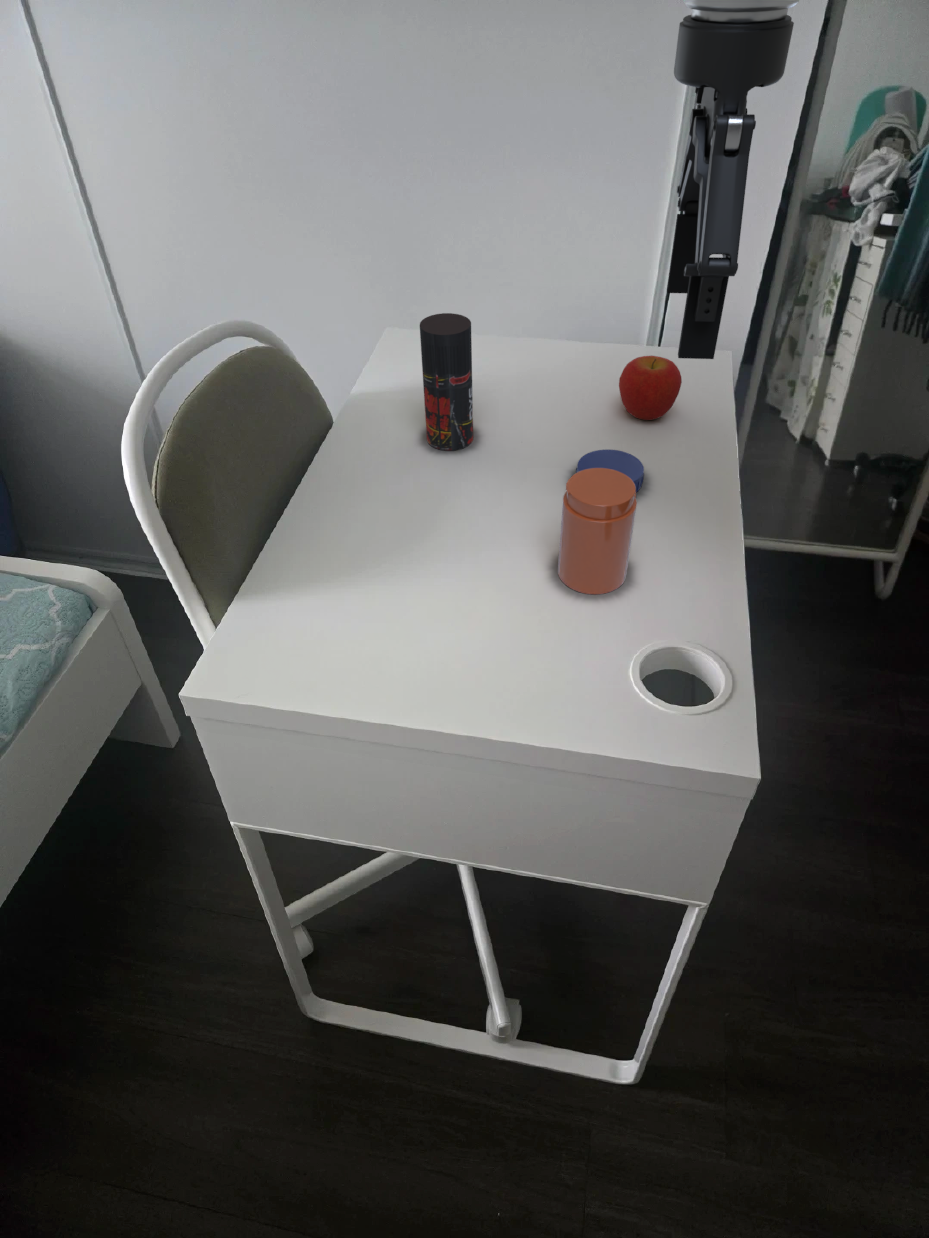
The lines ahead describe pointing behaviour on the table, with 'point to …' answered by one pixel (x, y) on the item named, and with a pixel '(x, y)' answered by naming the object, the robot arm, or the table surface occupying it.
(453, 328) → the deodorant
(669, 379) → the apple
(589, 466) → the jar lid
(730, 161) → the robot arm
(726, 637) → the table surface
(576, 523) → the jam jar
